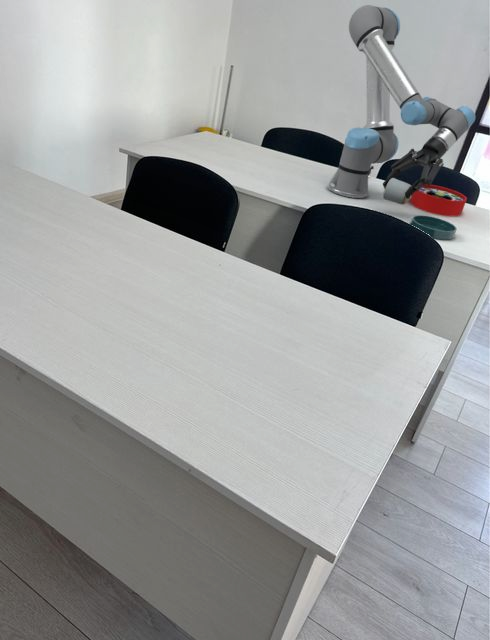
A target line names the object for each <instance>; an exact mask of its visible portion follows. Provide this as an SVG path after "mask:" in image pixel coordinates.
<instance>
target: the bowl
mask: <svg viewBox="0 0 490 640" xmlns="http://www.w3.org/2000/svg"><path fill="white" fill-rule="evenodd" d="M410 224H411V225H413V226H415V227H417V228H419V229H420V230H422V231H424V232H425V233H427V234H429V235H430V236H431V237H433V238H432V239H436V240H443V241H444V240H452V239H454V237H455V235H456V232H457V230H458V229H457V227H456V225H454V224H453V223H451V222H449V221H447V220H444V219H441V218H439V217H434V216H431V215H422V214H420V215H419V214H418V215H413V216H412V217H411V219H410V223H409V225H410Z"/></svg>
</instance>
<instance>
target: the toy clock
mask: <svg viewBox="0 0 490 640" xmlns="http://www.w3.org/2000/svg"><path fill="white" fill-rule="evenodd" d="M467 200H468V197H467V196H465V195H464V194H462V193H461V192H459V191H456V190H454V189H451V188H448V187H444V186H440V185H434V184H431V185H429V186H428V185H423V186H422V187H421V188H420V189H419V190H418V191H415V192H414V193H413V194H412V195H411V197H410V199H409V203H410V205H412V206H414V207H415V208H417V209H420V210H422V211H425V212H427V213H430V214H434V215H439V216H445V217H459V216H461V215H462V214H463V210H464V207H465V205H466V203H467Z"/></svg>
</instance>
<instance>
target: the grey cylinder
mask: <svg viewBox="0 0 490 640" xmlns="http://www.w3.org/2000/svg"><path fill="white" fill-rule="evenodd" d="M411 186H412V185H411V184H409V183H408V182H406V181H402V180H400V179H397V178H396V179H395V178H391V179H390V180H389V182H388V184H387V186H386V188H385V189H384V191H383V195H382V199H383V200H386V201H389V202H392V203H396V204H398V205H404V206H405V205H406V204H407V203H408V202H409V201H410V198H411V196H410V197H409V199H408V198H406V195H405V192H406V191H407V190H408V189H409V188H410V187H411Z"/></svg>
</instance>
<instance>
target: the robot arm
mask: <svg viewBox="0 0 490 640" xmlns="http://www.w3.org/2000/svg"><path fill="white" fill-rule="evenodd" d="M400 31H401V21H400V18H399V16H398V14H397V13H396V12H395V10H392V9H390V8H387V7H384V6H383V7H381V6H375V5H372V4H365V5H363V6H360V7H358V8H357V9H356V10H355V11H354V12H353V13H352V15H351V16H350V19H349V22H348V32H349V36H350V39H351V40H352V42H353V44H354V45H355V47H356V48H357V49H358V51H359V52H362V53H363V54H364V55H365V59H366V60H365V62H366V63H365V65H366V68H365V70H366V71H365V73H366V74H365V76H366V79H365V80H366V85H365V86H366V89H365V90H366V91H365V93H366V95H365V96H366V97H365V98H366V106H365V107H366V109H365V112H366V115H365V116H366V123H365V125H363V127H353V128H351V129H349V130H348V132H347V134H346V137H345V140H344V144H343V148H342V153H341V156H340V160H339V164H338V167H337V170H336V172H335V173H334V175H333V177H332V178H331V180H330V181H329V183H328V185H327V186H328V187H327V189H328V190H329V191H330V192H331V193H334V194H336V195H338V196H341V197H345V198H349V199H350V198H351V199H366V198H367V197H368V194H369V176H370V175H371V173H372V170H374V169H375V168H374V167H375V166H374V164H383V163H385V162H388V161H390V160H391V159H393V158H394V156H395V155H396V153H397V152H398V149H399V143H400V142H399V137H398V136H397V135H396V133H395V132H394V131H395V130H394V129H395V127H394V124H393V123H392V122H391V121H390V116H391V114H390V113H391V111H390V109H391V108H390V107H391V106H390V105H391V104H390V103H391V102H390V101H391V100H390V99H391V98H390V97H391V96H392V98H393V100H394V101H395V103H396V104H397V106H398V107H399V109H400V119H401V121H402V122H403V123H404V124H406V125H409V126H420V125H431V126H433V127H435V128H437V131H435V133H433V135H432V136H431V137H430V138H429V139H428V140H427V141H426V142H425V143H424V144H423V146H422V148H421V149H420V150H415V149H414V148H411V149H410V150H409V151H408V152H407V153H406V154H405V155H403V156H402V157H401V158H399V159H398V160H396V161H395V162H394V163H393V164H391V165H390V168H391V172H390V173H389V174H388V175H387V177H386V179H385V180H384V181H383V182H382V186H383V189H384V190H385V188H386V186H387V184H388V182H389V180H390V179H391V178H395V179H397V178H398V177H399V174H401V173H403V172H405V171H406V170H409V169H411V168H413V167H417V166H421V167H423V168H422V172H421V174H420V175H421V176H420V178H417V179H416V180H415V181H414V182H413V183H412V185H411V187H410V188H409V189H408V190H407V191H406V192H405V195H406V198H408V199H409V197H410V196H411V195H412V194H413V193H414V192H415V191H418V190H419V189H420V188H421V187H422V186H423V185H428V186H429V185H432V183H433V181H434V179H435V178H436V176H437V174H438V172H439V171H440V169H441V168H443V166H444V165H445V164H444V159H443V158H442V157H443V156H444V155H445V154H447V152H448V151H449V150H450V149H451V148H452V147H453V146H454V145H455V144H456V142H457V141H458V140H459V139H460V138H461V137H462V136H463V135H464V134H465V133H466V132H467V131H468V130H469V129H470V127H471V126H472V125H473V124H474V122H475V121H476V113H475V112H474V110H473V109H472V108H471V107H469V106H468V105H460V106H458V108H456V109H455V108H452V107H450V106H448V105H447V104H444V103H442V102H440V101H439V100H437V99H436V98H432V97H431V96H424V97H422V96H421V93H420V92H419V90H418V89H417V87H416V86H415V84H414V83H413V81H412V79H411V78H410V77H409V75H408V74H407V71H406V70H405V69H404V67H403V65H402V64H401V63H400V61H399V59H398V58H397V56H396V55H395V53H394V52H393V49H394V48H395V40H396V39H397V37H398V36H399V34H400ZM432 165H433V166H432ZM431 167H432V168H431ZM410 198H411V197H410ZM409 200H410V199H409Z"/></svg>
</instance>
